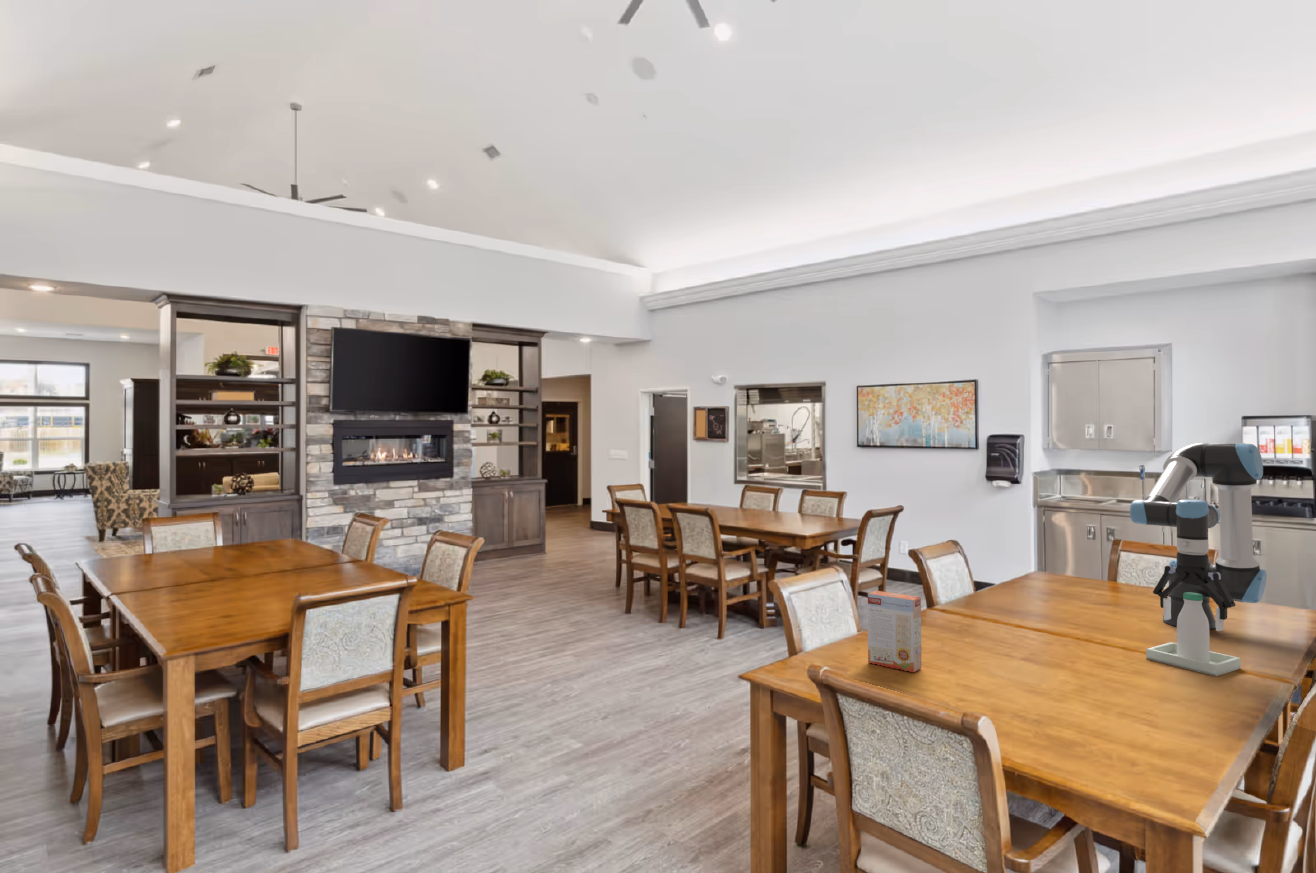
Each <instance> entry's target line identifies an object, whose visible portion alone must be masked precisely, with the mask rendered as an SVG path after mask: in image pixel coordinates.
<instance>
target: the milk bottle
mask: <svg viewBox="0 0 1316 873" xmlns="http://www.w3.org/2000/svg"><path fill="white" fill-rule="evenodd" d="M1183 598H1184V599H1183V600H1184V605H1183V608H1182V610H1181V612H1180V613H1179V615H1178V619H1177V626H1176V643H1177V655H1178V656H1182V657H1186V658H1190V659H1195V660H1199V661H1203V662H1207V663H1209V661H1210V651H1211V650H1210V648H1211V647H1210V646H1211V645H1210V629H1209V621H1208V618H1207V616H1206V614H1205V612H1204V610H1203V607H1202V602H1203V601H1202V600H1203V595H1202V594H1199V593H1192V592H1185V593H1183Z"/></svg>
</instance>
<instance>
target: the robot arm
mask: <svg viewBox="0 0 1316 873" xmlns="http://www.w3.org/2000/svg"><path fill="white" fill-rule="evenodd" d="M1162 470H1163V471H1162V472H1161V474H1160V476H1159V477H1158V479H1157V480H1156V482H1155V484H1154V486H1152V487H1151V488H1152V489H1151V490H1149V491H1150V492H1148V494H1147V496H1146V497H1145V499H1144V500H1143V499H1140V500H1139V499H1137V500H1133V501H1132V502H1131V504H1130V507H1129V517H1130V520H1131V522H1133V523H1135V524H1137V525H1138V524H1139V525H1144V526H1158V527H1159V526H1160V527H1161V526H1162V527H1172V528H1176V550H1177V551H1178V552H1177V553H1176V559H1175V558H1174V559H1172V560H1170V561H1169V564H1168V565H1165V566H1164V570H1163V574H1162V576H1161V577H1160V579H1159V580H1158V582H1157V584H1156V585H1155V588H1153V591H1152V594H1154V595H1157V596H1159V598H1160V599H1159V601H1160V603H1159V606H1160V608H1161V609H1162V610H1163V613H1162V622H1163V623H1165V624H1167V625H1171V626H1174V627H1177V619H1178V615H1179V613H1180V612H1181V610H1182V608H1183V605H1184V600H1183V599H1184V598H1183V593H1185V592H1192V593H1199V594H1202V595H1203V600H1202V601H1203V602H1202V607H1203V610H1204V612H1205V614H1206V616H1207V618H1208V621H1209V630H1213V629H1215V631H1216V632H1221V631H1224V630H1225V627H1224V621H1225V620H1227V619H1228V609H1229V608H1230V609H1231V608H1235V606H1236V603H1235V602H1239V603H1242V604H1243V603H1247V604H1248V603H1249V604H1258V603H1259V602H1260V601H1261V600H1262V598H1263V596H1264V593H1265V588H1266V585H1267V571H1266V570H1265V569H1263V568H1261V566H1260V562H1259V561H1258V560H1257V559H1255V557H1254V540H1253V538H1254V537H1253V534H1254V533H1253V507H1252V505H1253V504H1252V488H1253V487H1255V485H1257V482H1258V480H1261V479H1262V477H1263V475H1264V464H1263V459H1262V455H1261V452H1260V450H1259V448H1258V447H1257V446H1256V445H1254V444H1252V443H1245V442H1243V443H1242V442H1198V443H1193V444H1189V445H1186V446H1184V447H1182V448H1180V449H1177V450H1176V451H1175V452H1173V453H1172V454H1171V455H1170V456H1168V458H1166V460H1165V461H1164V463H1163V467H1162ZM1197 477H1198V478H1199V477H1201V478H1212V479H1211V480H1212V484H1213V485H1214V486H1215V487H1216V488H1217V489H1218V490H1217V491H1218V493H1217V494H1218V508H1217V507H1216V506H1215V505H1212V504H1210V503H1208V502H1207V501H1206V500H1202V499H1180V500H1178V499H1179V497H1180V495H1182V492H1183V491H1184V489H1185V487H1186V485H1187V484H1188V483H1189V482H1191V481H1192V480H1194V479H1195V478H1197ZM1177 500H1178V501H1177ZM1218 523H1219V537H1220V538H1219V541H1220V542H1219V544H1220V556H1219V557H1218V558H1217V559H1215V563H1211V561H1210V560H1209V555H1208V553H1209V549H1210V548H1209V529H1211V528H1214V527H1215V526H1216V525H1217V524H1218ZM1167 584H1168V586H1167V587H1166V585H1167ZM1165 587H1166V588H1165ZM1210 598H1211V600H1213V602H1214V603H1215V604H1216V605H1217V607H1216V608H1215V615H1214V613H1213V611H1212V607H1211V605H1210Z"/></svg>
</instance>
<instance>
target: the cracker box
mask: <svg viewBox="0 0 1316 873" xmlns="http://www.w3.org/2000/svg"><path fill="white" fill-rule="evenodd" d="M867 663H868V664H871V663H872V664H871V665H875V664H877V665H876V666H880V665H881V666H882V667H884V666H885V668H889V667H890V669H894V668H897V669H896V670H898V669H901V670H900V671H903V670H904V671H903V672H907V671H909V672H908V673H911V672H914V673H916V672H917V671H919V670H921V669H922V597H921V596H915V595H908V594H902V593H895V592H887V591H881V590H874V591H871V592H868V593H867Z"/></svg>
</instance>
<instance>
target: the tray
mask: <svg viewBox="0 0 1316 873" xmlns="http://www.w3.org/2000/svg"><path fill="white" fill-rule="evenodd" d="M1145 650H1146V652H1145V654H1146V659H1147V660H1150V661H1153V662H1156V663H1157V662H1158V663H1161V664H1165V665H1169V666H1173V667H1176V668H1177V667H1178V668H1182V669H1185V670H1189V671H1193V672H1197V673H1201V674H1205V675H1208V676H1209V675H1210V676H1213V677H1218V676H1221V675H1225V674H1229V673H1230V672H1235V671H1236V670H1240V669H1241V666H1242V665H1241V659H1242V658H1241V657H1238V656H1234V655H1230V654H1224V653H1220V652H1215V651H1212V650H1210V661H1209V663H1207V662H1203V661H1199V660H1195V659H1190V658H1186V657H1182V656H1178V655H1177V642H1172V641H1170V642H1167V643H1164V644H1159V645H1155V646H1152V647H1149V648H1146V649H1145Z"/></svg>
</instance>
